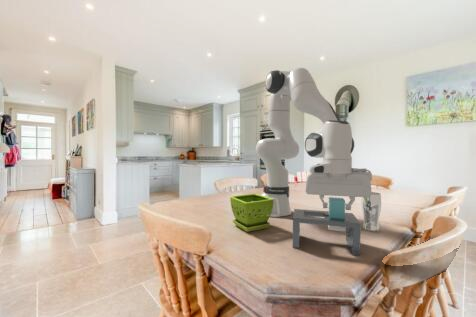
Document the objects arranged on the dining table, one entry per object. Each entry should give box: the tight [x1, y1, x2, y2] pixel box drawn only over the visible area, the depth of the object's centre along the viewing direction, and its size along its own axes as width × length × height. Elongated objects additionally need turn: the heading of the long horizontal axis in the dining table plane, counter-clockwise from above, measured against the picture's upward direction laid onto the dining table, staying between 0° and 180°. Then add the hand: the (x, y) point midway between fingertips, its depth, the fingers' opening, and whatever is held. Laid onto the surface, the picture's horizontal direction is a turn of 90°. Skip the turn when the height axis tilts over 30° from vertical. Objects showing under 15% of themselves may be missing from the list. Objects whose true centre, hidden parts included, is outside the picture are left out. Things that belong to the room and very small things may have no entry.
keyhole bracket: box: [292, 208, 361, 257], centre depth 76 cm, size 20×12×10 cm, turn 73°
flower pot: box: [229, 193, 273, 233], centre depth 93 cm, size 14×14×13 cm
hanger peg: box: [327, 196, 346, 232], centre depth 74 cm, size 5×5×10 cm
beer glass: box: [361, 191, 382, 233], centre depth 91 cm, size 7×7×15 cm
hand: (336, 208), depth 74 cm, fingers open, 6 cm apart
